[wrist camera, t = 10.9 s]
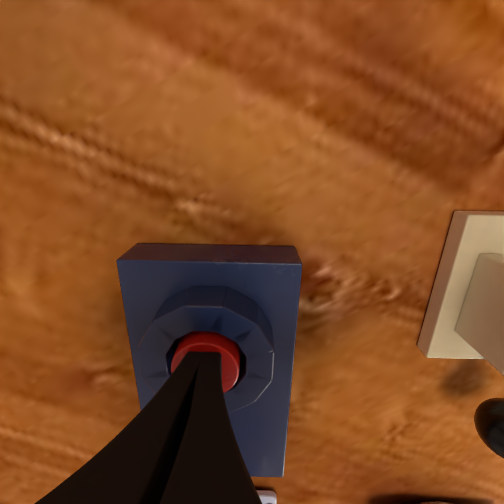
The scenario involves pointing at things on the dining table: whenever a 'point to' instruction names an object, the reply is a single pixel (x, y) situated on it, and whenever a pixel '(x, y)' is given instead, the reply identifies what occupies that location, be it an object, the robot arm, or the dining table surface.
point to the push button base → (220, 329)
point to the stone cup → (437, 503)
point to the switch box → (468, 292)
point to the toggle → (491, 424)
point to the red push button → (212, 344)
